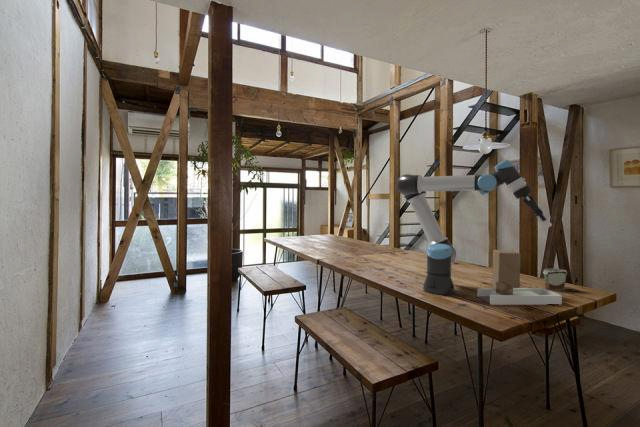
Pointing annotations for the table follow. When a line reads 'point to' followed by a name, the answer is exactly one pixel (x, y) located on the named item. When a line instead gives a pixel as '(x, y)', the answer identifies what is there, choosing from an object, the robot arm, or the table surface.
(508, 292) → the walnut cube
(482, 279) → the table surface
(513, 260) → the wooden block
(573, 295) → the table surface
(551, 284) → the food container
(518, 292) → the white tray
